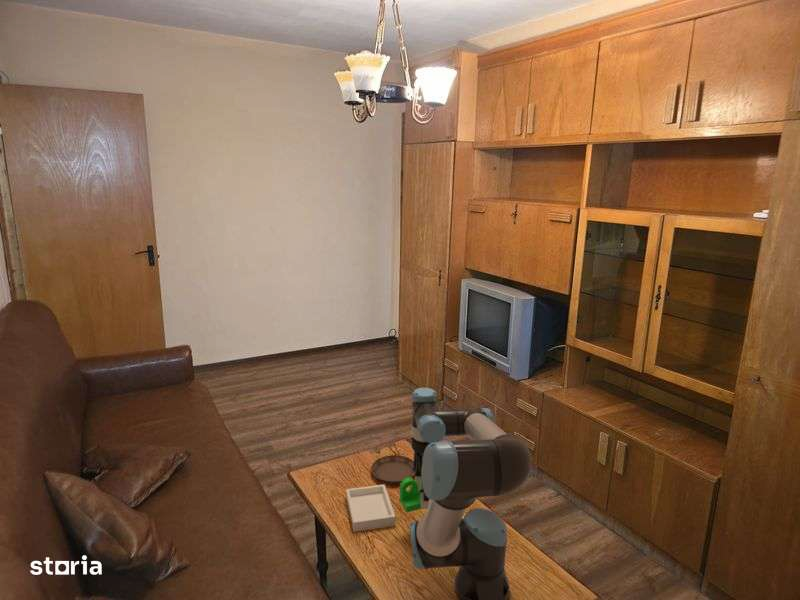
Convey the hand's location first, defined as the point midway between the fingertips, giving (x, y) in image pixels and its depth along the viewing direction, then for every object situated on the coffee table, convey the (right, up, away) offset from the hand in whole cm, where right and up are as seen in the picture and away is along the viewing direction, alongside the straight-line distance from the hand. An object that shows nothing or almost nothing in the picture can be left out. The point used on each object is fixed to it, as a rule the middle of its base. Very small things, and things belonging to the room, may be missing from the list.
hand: (421, 500), depth 167 cm
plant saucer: (-9, -3, +33) cm, 34 cm away
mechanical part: (-1, -1, 0) cm, 1 cm away
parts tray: (-18, -8, +11) cm, 22 cm away
